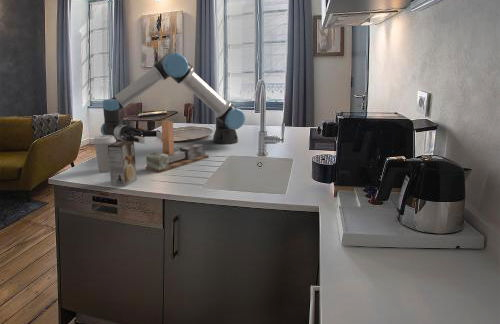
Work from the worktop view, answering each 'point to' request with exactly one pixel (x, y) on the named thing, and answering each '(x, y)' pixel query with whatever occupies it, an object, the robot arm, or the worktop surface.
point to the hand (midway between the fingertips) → (156, 138)
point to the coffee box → (122, 163)
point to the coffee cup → (103, 151)
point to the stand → (161, 161)
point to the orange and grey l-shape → (170, 142)
